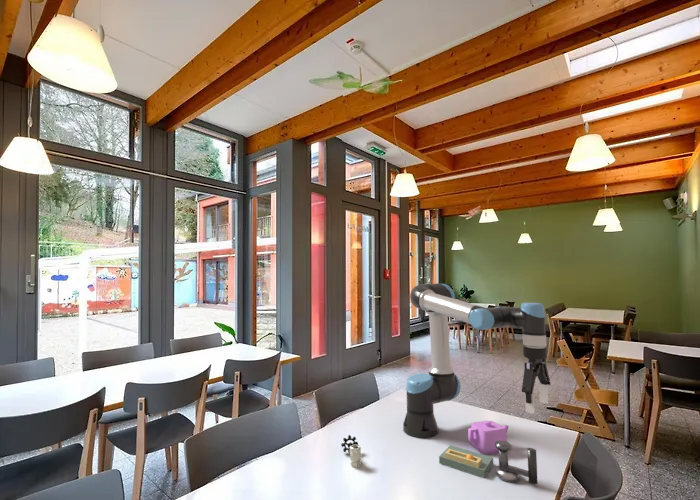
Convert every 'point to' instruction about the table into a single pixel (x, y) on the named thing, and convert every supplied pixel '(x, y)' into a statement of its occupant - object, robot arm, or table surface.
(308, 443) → the table surface
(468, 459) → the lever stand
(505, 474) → the cam capstan
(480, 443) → the teapot
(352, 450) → the valve
